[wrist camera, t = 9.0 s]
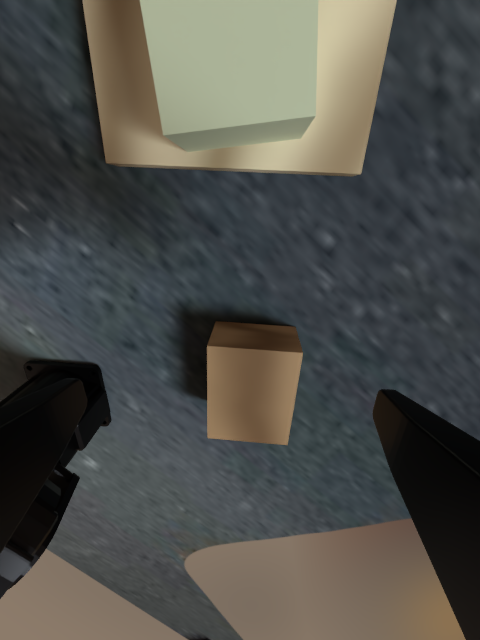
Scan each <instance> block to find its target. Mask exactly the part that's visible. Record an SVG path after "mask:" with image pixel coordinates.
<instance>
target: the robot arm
mask: <svg viewBox="0 0 480 640" xmlns="http://www.w3.org/2000/svg"><path fill="white" fill-rule="evenodd" d="M24 370H25V373H26V376H27V378H28V381H27V382H25V383H24V384H23V385H22V386H20V387H19V388H18V389H16V390H15V391H14V392H13V393H11V394H10V395H9V396H7V397H6V398H5V399H4V400H2V401H1V402H0V599H1V597H2V596H3V595H4V594H5V592H6V591H7V590H8V589H10V588H11V587H12V586H13V585H15V584H16V583H17V582H18V581H19V580H20V579H21V578H22V577H23V576H24V575H25V574H26V573H27V572H28V571H29V570H30V569H31V568H32V566H33V565H34V564H35V563H36V562H37V560H38V559H39V558H40V556H41V555H42V554H43V552H44V551H45V549H46V548H47V546H48V545H49V543H50V542H51V540H52V538H53V536H54V534H55V532H56V530H57V528H58V526H59V524H60V521H61V519H62V517H63V515H64V512H65V510H66V508H67V506H68V503H69V501H70V499H71V497H72V494H73V492H74V490H75V488H76V486H77V483H78V481H79V479H80V477H79V476H77V475H76V474H75V473H73V474H72V473H71V472H70V471H69V470H67V469H66V468H65V467H66V466H67V465H68V463H69V462H70V460H71V459H72V458H73V456H74V455H75V454H76V452H77V451H78V450H79V451H82V450H83V449H84V448H85V447H86V446H87V444H88V443H89V442H90V440H91V439H92V437H93V436H94V434H95V433H96V432H97V430H98V429H99V427H100V426H108V425H109V424H110V422H111V415H110V408H109V403H108V398H107V394H106V390H105V387H104V382H103V377H102V373H101V369H100V368H99V367H97V366H94V365H82V364H69V363H56V362H43V361H28V362H27V363H25V364H24ZM93 371H94V372H93ZM373 419H374V422H375V426H376V429H377V432H378V435H379V438H380V441H381V444H382V447H383V450H384V453H385V456H386V459H387V462H388V465H389V467H390V470H391V473H392V475H393V477H394V480H395V482H396V484H397V486H398V489H399V491H400V493H401V495H402V498H403V500H404V502H405V504H406V507H407V509H408V511H409V513H410V516H411V518H412V520H413V522H414V525H415V527H416V529H417V531H418V534H419V536H420V538H421V540H422V542H423V545H424V547H425V549H426V551H427V554H428V556H429V558H430V560H431V562H432V565H433V567H434V569H435V571H436V574H437V576H438V578H439V580H440V583H441V585H442V587H443V589H444V592H445V594H446V596H447V598H448V600H449V603H450V605H451V607H452V609H453V612H454V614H455V616H456V619H457V621H458V623H459V625H460V627H461V630H462V632H463V634H464V637H465V639H466V640H480V441H479V440H477V439H476V438H474V437H472V436H471V435H469V434H467V433H466V432H464V431H462V430H461V429H459V428H457V427H456V426H454V425H452V424H451V423H449V422H447V421H446V420H444V419H442V418H441V417H439V416H437V415H436V414H434V413H432V412H431V411H429V410H427V409H426V408H424V407H423V406H421V405H419V404H418V403H416V402H414V401H413V400H411V399H409V398H408V397H406V396H404V395H403V394H401V393H399V392H398V391H396V390H389V389H381V390H379V392H378V394H377V397H376V401H375V405H374V409H373Z"/></svg>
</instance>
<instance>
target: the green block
mask: <svg viewBox="0 0 480 640" xmlns="http://www.w3.org/2000/svg"><path fill="white" fill-rule="evenodd" d="M140 5H141V11H142V16H143V22H144V28H145V34H146V39H147V45H148V51H149V56H150V62H151V68H152V74H153V79H154V85H155V91H156V97H157V102H158V108H159V114H160V119H161V125H162V131H163V136H165V137H166V138H168V139H169V140H171V141H172V142H174V143H175V144H177V145H178V146H179V147H181V148H182V149H184V150H185V151H187V152H194V151H202V150H210V149H219V148H227V147H235V146H244V145H252V144H260V143H268V142H277V141H285V140H293V139H301V138H302V136H303V135H304V133H305V132H306V130H307V129H308V127H309V125H310V124H311V122H312V121H313V119H314V118H315V116H316V88H317V41H318V0H140Z"/></svg>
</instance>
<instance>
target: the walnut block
mask: <svg viewBox="0 0 480 640" xmlns="http://www.w3.org/2000/svg"><path fill="white" fill-rule="evenodd" d="M302 356H303V351H302V348H301V345H300V341H299V338H298V334H297V331H296V327H291V326H276V325H262V324H248V323H234V322H220V321H216V322H215V325H214V328H213V331H212V333H211V336H210V339H209V342H208V345H207V428H208V438H213V439H224V440H236V441H247V442H258V443H269V444H281V445H287V444H288V438H289V433H290V427H291V421H292V415H293V409H294V403H295V397H296V391H297V385H298V379H299V374H300V368H301V362H302Z"/></svg>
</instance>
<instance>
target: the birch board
mask: <svg viewBox="0 0 480 640" xmlns="http://www.w3.org/2000/svg"><path fill="white" fill-rule="evenodd" d="M82 1H83V8H84V15H85V22H86V29H87V35H88V42H89V49H90V56H91V63H92V70H93V77H94V84H95V91H96V98H97V104H98V111H99V118H100V125H101V132H102V139H103V146H104V153H105V160H106V163H108V164H112V165H116V166H124V167H147V168H170V169H193V170H216V171H239V172H262V173H285V174H308V175H331V176H355V175H359V174H361V171H362V166H363V161H364V157H365V152H366V147H367V142H368V137H369V132H370V127H371V123H372V118H373V113H374V108H375V103H376V98H377V93H378V88H379V84H380V79H381V74H382V69H383V64H384V59H385V54H386V50H387V45H388V40H389V35H390V30H391V25H392V20H393V15H394V11H395V6H396V1H397V0H318V41H317V88H316V116H315V118H314V119H313V121H312V122H311V124H310V125H309V127H308V129H307V130H306V132H305V133H304V135H303V136H302V138H301V139H293V140H285V141H277V142H268V143H260V144H252V145H244V146H235V147H227V148H219V149H210V150H202V151H194V152H187V151H185V150H184V149H182V148H181V147H179V146H178V145H177V144H175V143H174V142H172V141H171V140H169V139H168V138H166V137H165V136H163V131H162V125H161V119H160V114H159V108H158V102H157V97H156V91H155V85H154V79H153V74H152V68H151V62H150V56H149V51H148V45H147V39H146V34H145V28H144V22H143V16H142V11H141V5H140V0H82Z"/></svg>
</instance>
